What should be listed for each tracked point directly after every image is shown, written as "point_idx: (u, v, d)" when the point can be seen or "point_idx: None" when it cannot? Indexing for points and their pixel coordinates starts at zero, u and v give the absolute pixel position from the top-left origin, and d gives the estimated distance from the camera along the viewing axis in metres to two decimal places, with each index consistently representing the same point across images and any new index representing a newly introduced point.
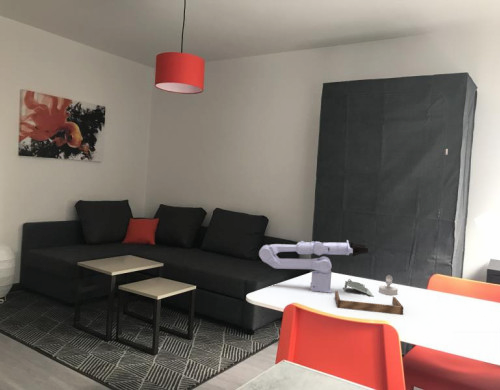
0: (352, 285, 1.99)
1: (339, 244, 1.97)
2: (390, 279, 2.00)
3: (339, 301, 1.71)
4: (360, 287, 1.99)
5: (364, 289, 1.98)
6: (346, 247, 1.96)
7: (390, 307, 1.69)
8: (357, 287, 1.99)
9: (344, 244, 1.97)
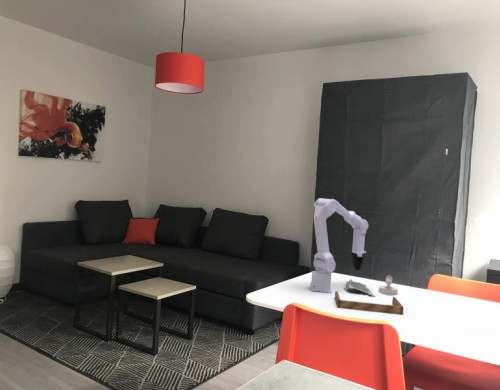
0: (354, 285, 1.99)
1: (363, 244, 2.09)
2: (390, 279, 2.00)
3: (339, 301, 1.71)
4: (361, 287, 1.98)
5: (365, 289, 1.98)
6: (360, 250, 2.08)
7: (390, 307, 1.69)
8: (358, 287, 1.98)
9: (363, 249, 2.09)
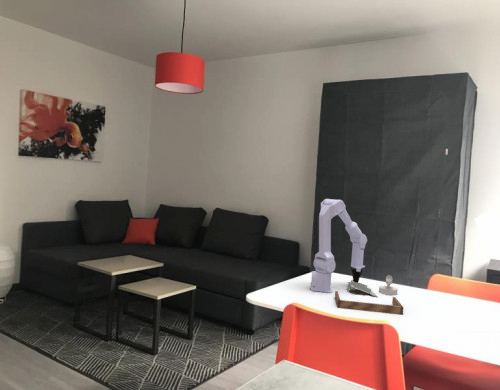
0: (356, 286, 1.98)
1: (362, 259, 2.09)
2: (390, 279, 2.00)
3: (339, 301, 1.71)
4: (364, 288, 1.98)
5: (368, 290, 1.98)
6: (359, 265, 2.09)
7: (390, 307, 1.69)
8: (361, 288, 1.98)
9: (362, 263, 2.09)
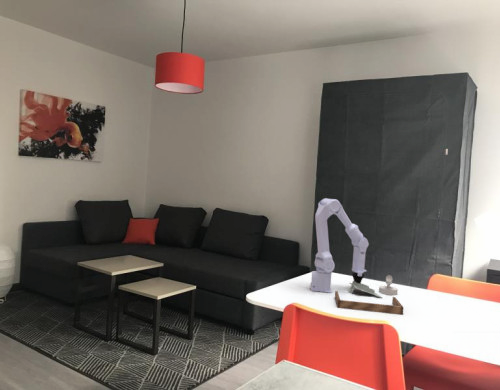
0: (360, 287, 1.95)
1: (363, 263, 2.03)
2: (390, 279, 2.00)
3: (339, 301, 1.71)
4: (367, 289, 1.96)
5: (371, 291, 1.96)
6: (360, 269, 2.03)
7: (390, 307, 1.69)
8: (365, 289, 1.96)
9: (363, 267, 2.04)
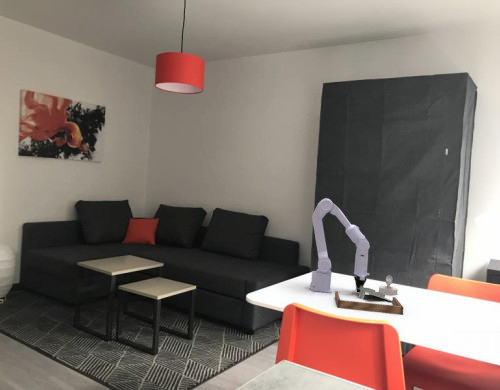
0: (372, 292, 1.87)
1: (366, 266, 1.95)
2: (390, 279, 2.00)
3: (339, 301, 1.71)
4: (379, 293, 1.88)
5: (382, 295, 1.89)
6: (363, 273, 1.94)
7: (390, 307, 1.69)
8: (376, 294, 1.87)
9: (366, 271, 1.95)
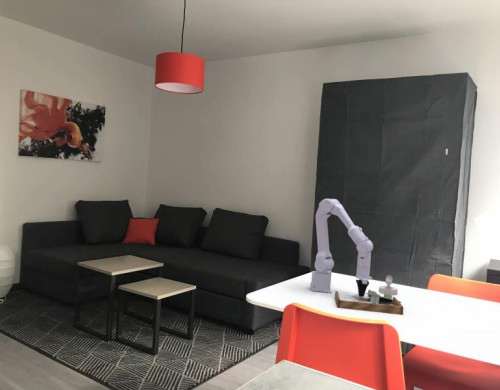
0: (386, 296, 1.82)
1: (368, 269, 1.87)
2: (390, 279, 2.00)
3: (339, 301, 1.71)
4: (389, 296, 1.85)
5: (390, 297, 1.87)
6: (365, 276, 1.86)
7: (390, 307, 1.69)
8: (388, 296, 1.84)
9: (368, 274, 1.87)
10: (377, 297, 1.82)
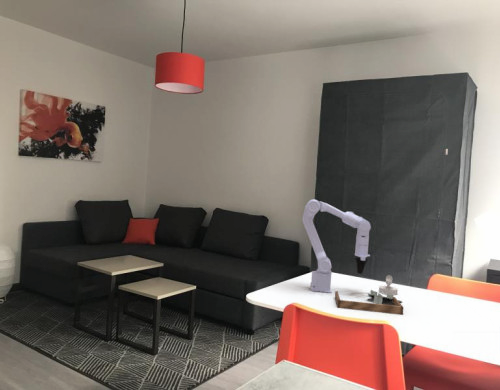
0: (389, 296, 1.83)
1: (367, 247, 1.95)
2: (390, 279, 2.00)
3: (339, 301, 1.71)
4: (391, 296, 1.86)
5: (392, 297, 1.87)
6: (364, 254, 1.94)
7: (390, 307, 1.69)
8: (390, 297, 1.85)
9: (366, 252, 1.95)
10: (380, 297, 1.82)
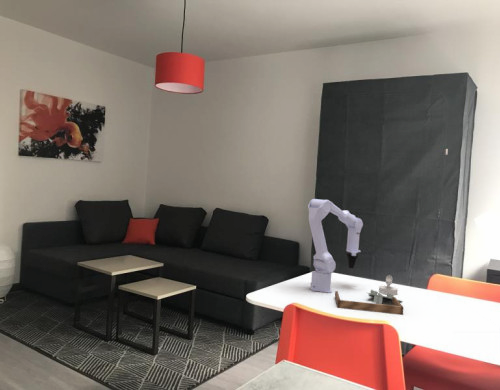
0: (389, 296, 1.83)
1: (357, 243, 2.08)
2: (390, 279, 2.00)
3: (339, 301, 1.71)
4: (391, 295, 1.86)
5: (392, 296, 1.88)
6: (355, 249, 2.07)
7: (390, 307, 1.69)
8: (390, 296, 1.85)
9: (357, 248, 2.08)
10: (380, 297, 1.83)
